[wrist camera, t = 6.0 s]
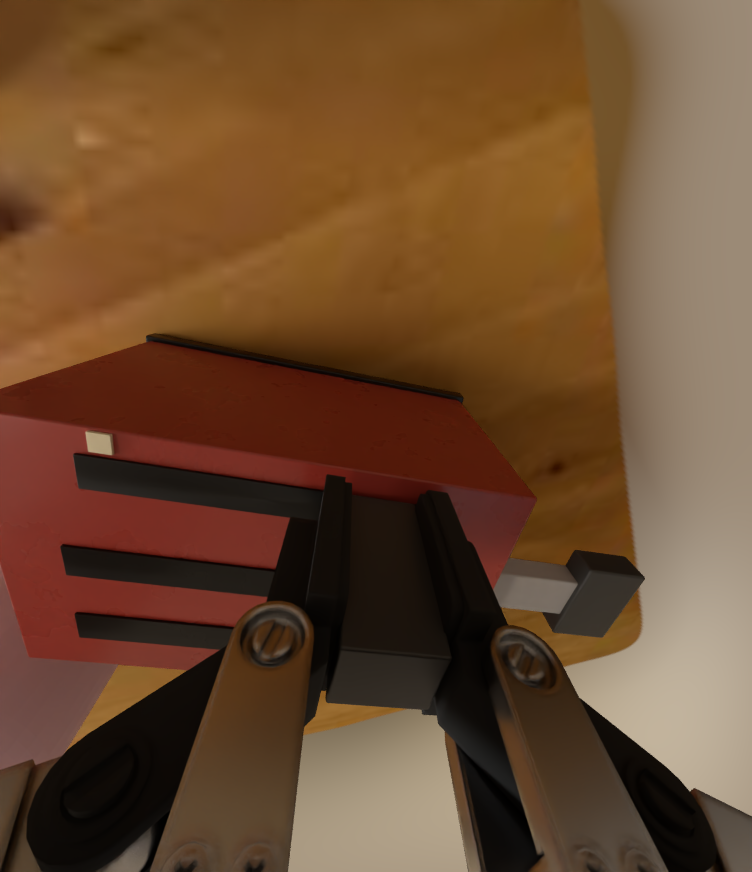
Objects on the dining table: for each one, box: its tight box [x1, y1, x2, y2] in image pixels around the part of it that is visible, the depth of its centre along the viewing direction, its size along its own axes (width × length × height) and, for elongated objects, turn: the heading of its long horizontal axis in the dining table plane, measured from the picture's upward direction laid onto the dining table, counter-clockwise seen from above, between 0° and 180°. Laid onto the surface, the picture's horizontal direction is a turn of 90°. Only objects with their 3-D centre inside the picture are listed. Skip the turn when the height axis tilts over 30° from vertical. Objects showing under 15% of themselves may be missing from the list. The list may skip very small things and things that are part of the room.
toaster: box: [0, 333, 537, 670], centre depth 16 cm, size 10×16×10 cm, turn 78°
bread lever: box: [493, 550, 645, 637], centre depth 14 cm, size 4×6×1 cm, turn 78°
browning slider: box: [326, 495, 452, 710], centre depth 8 cm, size 2×2×4 cm
